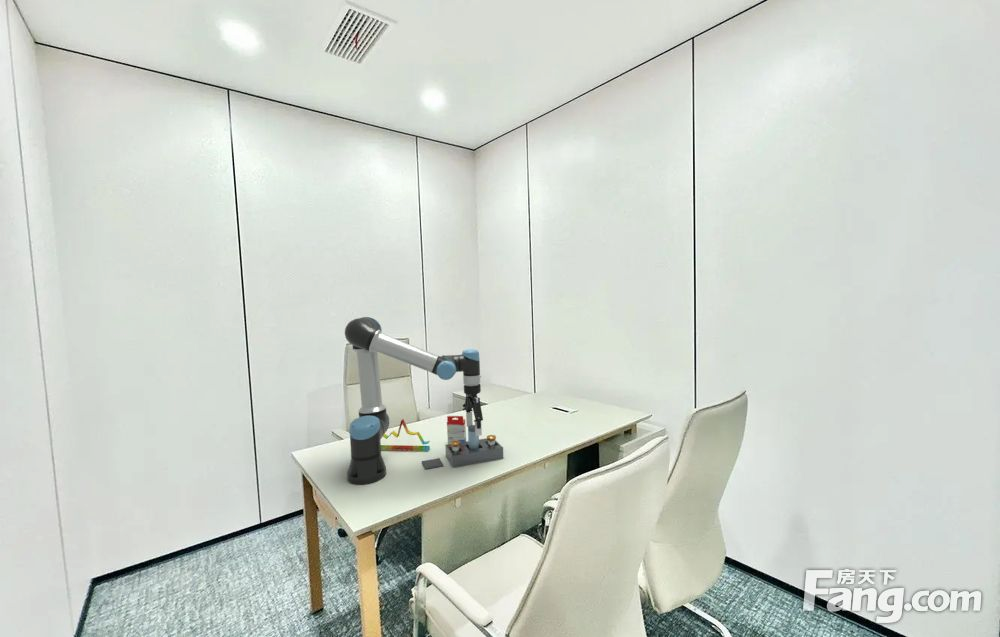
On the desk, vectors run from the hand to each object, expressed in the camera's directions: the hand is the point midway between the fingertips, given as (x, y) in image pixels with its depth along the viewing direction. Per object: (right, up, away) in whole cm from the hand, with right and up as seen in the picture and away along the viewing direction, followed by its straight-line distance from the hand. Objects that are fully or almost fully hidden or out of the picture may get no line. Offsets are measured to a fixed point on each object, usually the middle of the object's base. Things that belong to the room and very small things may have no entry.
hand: (473, 430), depth 176 cm
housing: (0, -12, +1) cm, 12 cm away
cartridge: (0, -12, +1) cm, 12 cm away
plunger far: (+8, -11, +4) cm, 14 cm away
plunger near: (-8, -12, -2) cm, 14 cm away
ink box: (-10, -12, +17) cm, 23 cm away
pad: (-18, -13, -6) cm, 23 cm away
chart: (-37, -13, +11) cm, 41 cm away
